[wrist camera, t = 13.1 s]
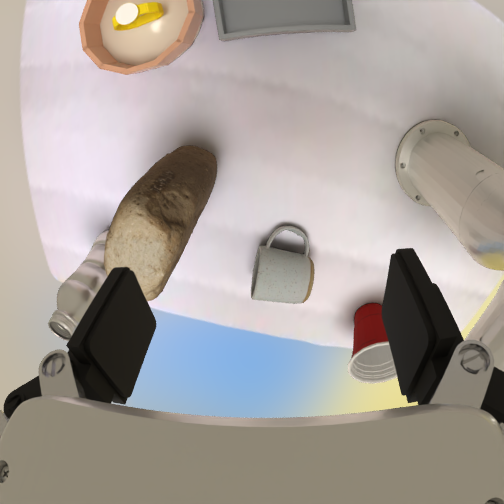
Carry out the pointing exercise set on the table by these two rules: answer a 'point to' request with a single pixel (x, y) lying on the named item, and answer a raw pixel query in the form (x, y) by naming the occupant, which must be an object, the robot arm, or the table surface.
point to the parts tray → (281, 17)
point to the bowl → (139, 35)
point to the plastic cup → (371, 347)
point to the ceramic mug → (282, 272)
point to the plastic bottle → (79, 291)
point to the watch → (136, 15)
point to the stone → (160, 217)
